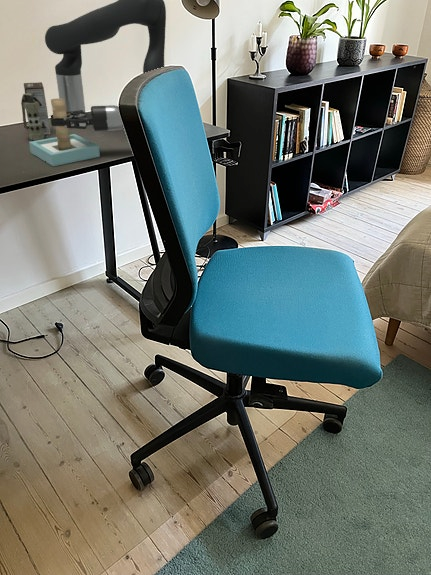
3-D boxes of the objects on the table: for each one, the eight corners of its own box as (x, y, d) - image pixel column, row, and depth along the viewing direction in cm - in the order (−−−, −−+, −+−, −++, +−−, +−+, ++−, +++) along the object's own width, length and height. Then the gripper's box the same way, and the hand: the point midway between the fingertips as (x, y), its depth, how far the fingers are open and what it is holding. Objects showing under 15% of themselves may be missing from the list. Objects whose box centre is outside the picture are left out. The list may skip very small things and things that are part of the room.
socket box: (30, 152, 152) (28, 141, 150) (76, 144, 161) (74, 133, 159) (53, 166, 142) (51, 155, 140) (99, 156, 151) (98, 145, 149)
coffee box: (31, 128, 174) (22, 82, 165) (49, 127, 176) (41, 82, 167) (32, 135, 167) (24, 87, 158) (51, 134, 169) (44, 87, 160)
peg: (56, 148, 150) (48, 99, 142) (67, 146, 153) (60, 97, 144) (62, 151, 148) (54, 101, 140) (73, 149, 150) (66, 100, 142)
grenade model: (49, 136, 167) (42, 92, 159) (38, 142, 161) (30, 96, 153) (33, 134, 168) (26, 90, 160) (22, 139, 163) (13, 94, 154)
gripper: (104, 100, 152) (48, 102, 148) (108, 111, 141) (49, 113, 137) (106, 124, 157) (52, 126, 152) (110, 136, 145) (53, 139, 141)
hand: (51, 120), depth 145 cm, fingers closed on peg, 4 cm apart
